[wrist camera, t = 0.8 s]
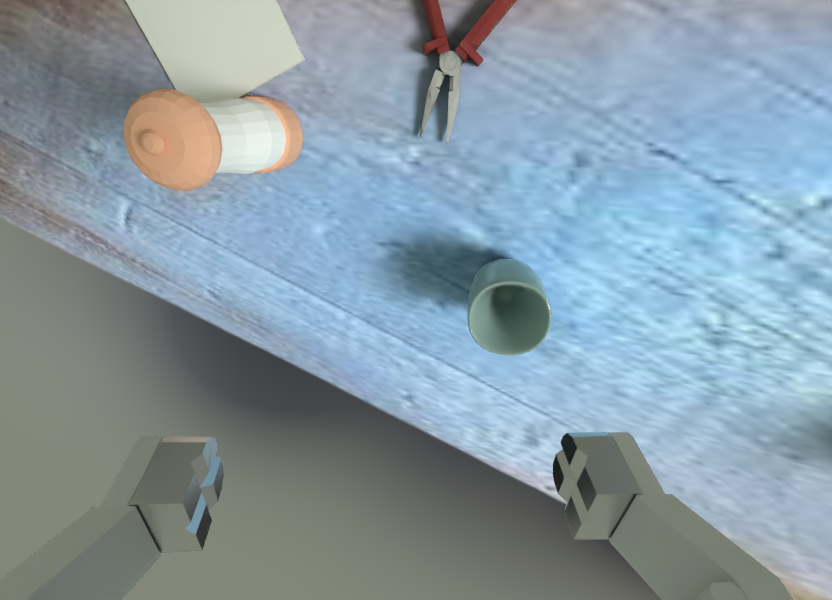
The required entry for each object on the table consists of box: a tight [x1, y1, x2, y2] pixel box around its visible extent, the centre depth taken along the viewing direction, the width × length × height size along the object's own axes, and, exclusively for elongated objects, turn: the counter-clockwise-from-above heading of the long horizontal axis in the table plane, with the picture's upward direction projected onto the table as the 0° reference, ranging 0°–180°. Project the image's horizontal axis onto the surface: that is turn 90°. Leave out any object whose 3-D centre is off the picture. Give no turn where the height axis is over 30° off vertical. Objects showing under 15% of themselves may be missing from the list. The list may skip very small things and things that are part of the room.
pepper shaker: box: [123, 89, 303, 190], centre depth 39 cm, size 7×7×19 cm
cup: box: [467, 259, 551, 355], centre depth 46 cm, size 8×8×10 cm
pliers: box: [420, 0, 516, 144], centre depth 41 cm, size 12×20×3 cm, turn 168°
